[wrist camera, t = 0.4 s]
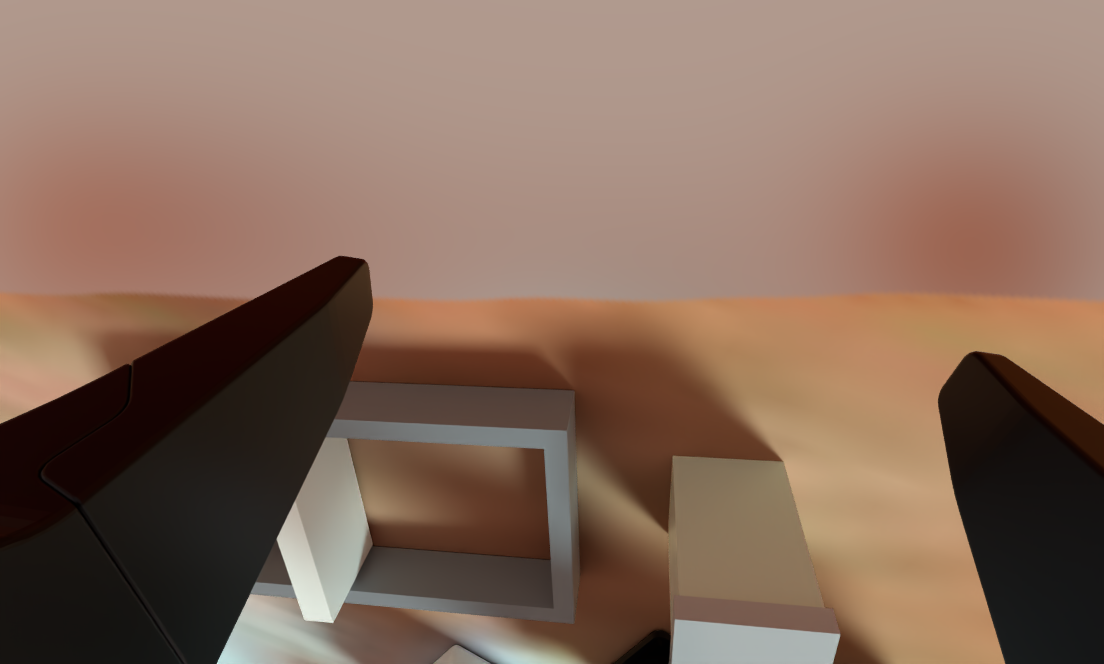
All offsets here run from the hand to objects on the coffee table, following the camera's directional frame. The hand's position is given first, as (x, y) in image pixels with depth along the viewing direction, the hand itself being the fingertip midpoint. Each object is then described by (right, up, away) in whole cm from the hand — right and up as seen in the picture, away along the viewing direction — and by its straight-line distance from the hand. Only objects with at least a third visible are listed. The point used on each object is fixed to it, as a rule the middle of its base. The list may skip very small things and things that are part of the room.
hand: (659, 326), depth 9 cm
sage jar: (+7, -8, +21) cm, 23 cm away
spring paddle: (-15, -8, +24) cm, 29 cm away
